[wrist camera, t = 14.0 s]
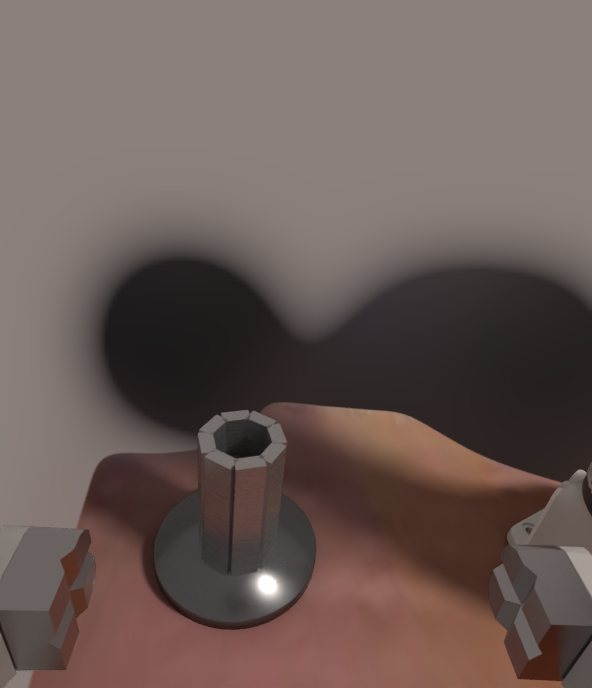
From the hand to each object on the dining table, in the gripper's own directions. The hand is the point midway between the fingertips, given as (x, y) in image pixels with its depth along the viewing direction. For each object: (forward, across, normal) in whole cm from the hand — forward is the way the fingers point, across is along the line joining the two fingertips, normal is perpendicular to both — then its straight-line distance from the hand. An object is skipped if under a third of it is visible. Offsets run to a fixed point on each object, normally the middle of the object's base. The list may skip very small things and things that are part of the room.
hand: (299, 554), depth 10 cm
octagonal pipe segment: (+22, +2, +29) cm, 37 cm away
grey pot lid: (+22, +2, +30) cm, 38 cm away
